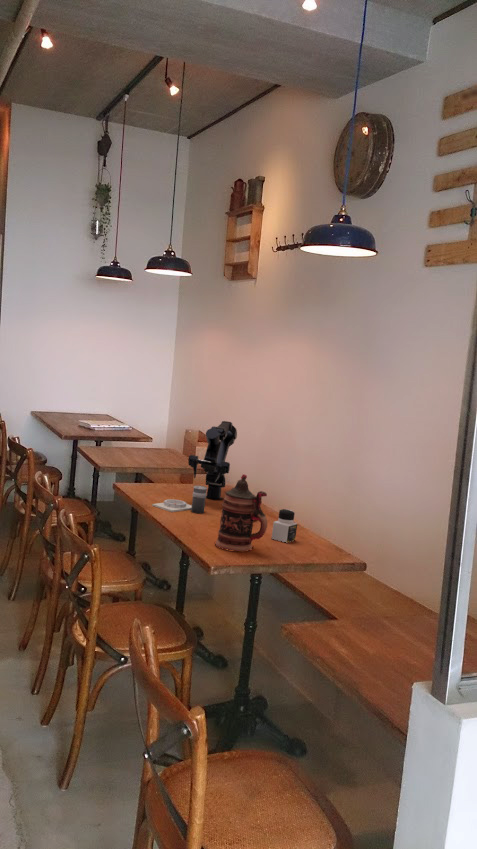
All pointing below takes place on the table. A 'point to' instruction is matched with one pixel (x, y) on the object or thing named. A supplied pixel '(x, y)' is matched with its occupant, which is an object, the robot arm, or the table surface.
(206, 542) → the table surface
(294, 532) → the medicine bottle
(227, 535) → the beer stein
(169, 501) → the board
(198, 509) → the grey round piece
